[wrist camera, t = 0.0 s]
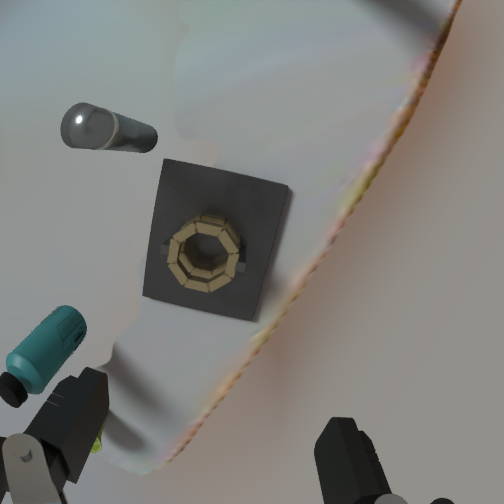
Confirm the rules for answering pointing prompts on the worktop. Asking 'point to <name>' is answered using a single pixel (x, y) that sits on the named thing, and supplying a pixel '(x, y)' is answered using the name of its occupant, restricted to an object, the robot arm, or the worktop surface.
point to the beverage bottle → (41, 355)
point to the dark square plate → (211, 238)
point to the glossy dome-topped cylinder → (105, 130)
